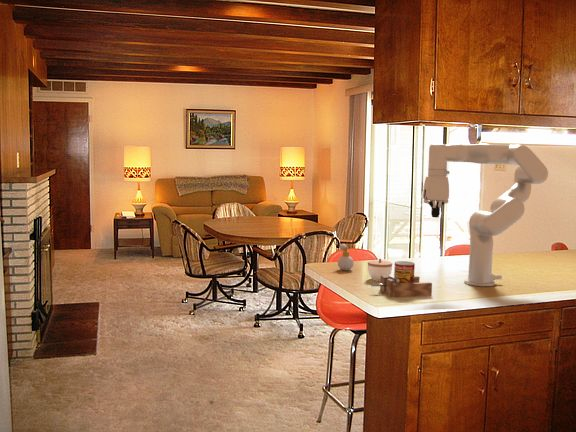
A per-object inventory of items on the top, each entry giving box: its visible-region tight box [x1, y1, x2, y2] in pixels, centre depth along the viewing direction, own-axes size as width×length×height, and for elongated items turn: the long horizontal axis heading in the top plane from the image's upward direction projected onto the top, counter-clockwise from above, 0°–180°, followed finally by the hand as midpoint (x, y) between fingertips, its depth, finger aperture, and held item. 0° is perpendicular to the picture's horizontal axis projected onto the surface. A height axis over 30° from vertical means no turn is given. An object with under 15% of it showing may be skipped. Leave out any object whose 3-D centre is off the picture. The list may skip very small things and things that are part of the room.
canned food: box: [393, 260, 416, 283], centre depth 247 cm, size 8×8×12 cm
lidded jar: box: [367, 258, 393, 282], centre depth 271 cm, size 11×11×9 cm
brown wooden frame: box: [379, 275, 433, 298], centre depth 247 cm, size 17×14×6 cm
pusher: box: [370, 274, 400, 287], centre depth 245 cm, size 10×9×6 cm
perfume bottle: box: [337, 243, 354, 271], centre depth 292 cm, size 8×10×12 cm
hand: (435, 217), depth 259 cm, fingers closed
